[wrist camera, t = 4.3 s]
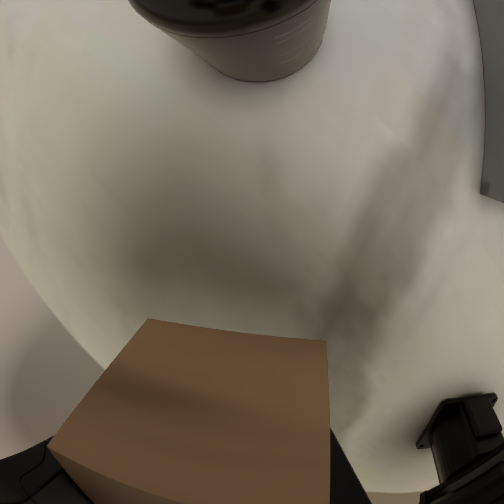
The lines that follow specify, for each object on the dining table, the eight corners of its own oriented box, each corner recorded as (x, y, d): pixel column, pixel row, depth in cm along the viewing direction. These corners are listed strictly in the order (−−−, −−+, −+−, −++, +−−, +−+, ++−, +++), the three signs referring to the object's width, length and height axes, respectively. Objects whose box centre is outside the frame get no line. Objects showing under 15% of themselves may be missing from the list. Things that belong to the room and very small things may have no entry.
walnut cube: (301, 445, 9) (287, 566, 5) (170, 424, 10) (120, 528, 5) (326, 340, 8) (328, 521, 3) (148, 318, 8) (46, 446, 4)
